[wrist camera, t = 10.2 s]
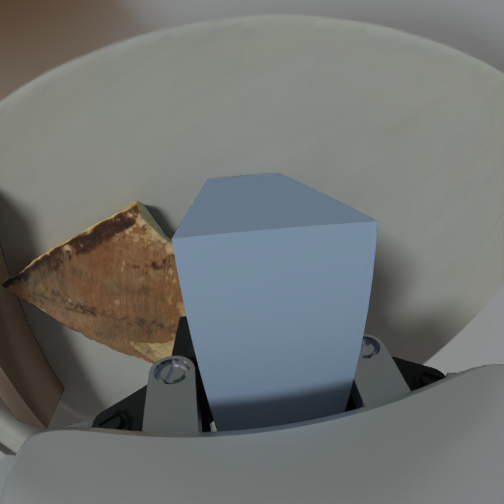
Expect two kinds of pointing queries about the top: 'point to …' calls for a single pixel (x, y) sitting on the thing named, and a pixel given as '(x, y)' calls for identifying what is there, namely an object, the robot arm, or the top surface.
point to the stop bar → (24, 364)
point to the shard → (111, 284)
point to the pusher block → (274, 297)
